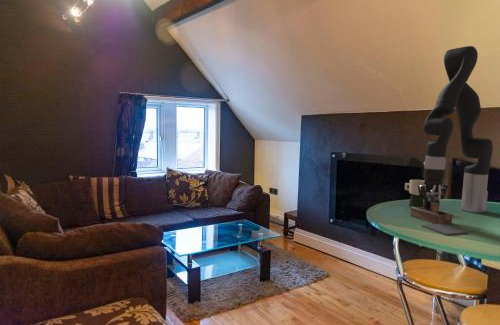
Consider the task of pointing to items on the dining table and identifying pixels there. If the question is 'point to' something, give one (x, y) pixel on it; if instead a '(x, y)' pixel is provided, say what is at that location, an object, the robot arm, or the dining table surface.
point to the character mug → (415, 193)
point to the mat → (444, 229)
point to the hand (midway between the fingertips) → (431, 209)
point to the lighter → (434, 205)
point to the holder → (431, 216)
